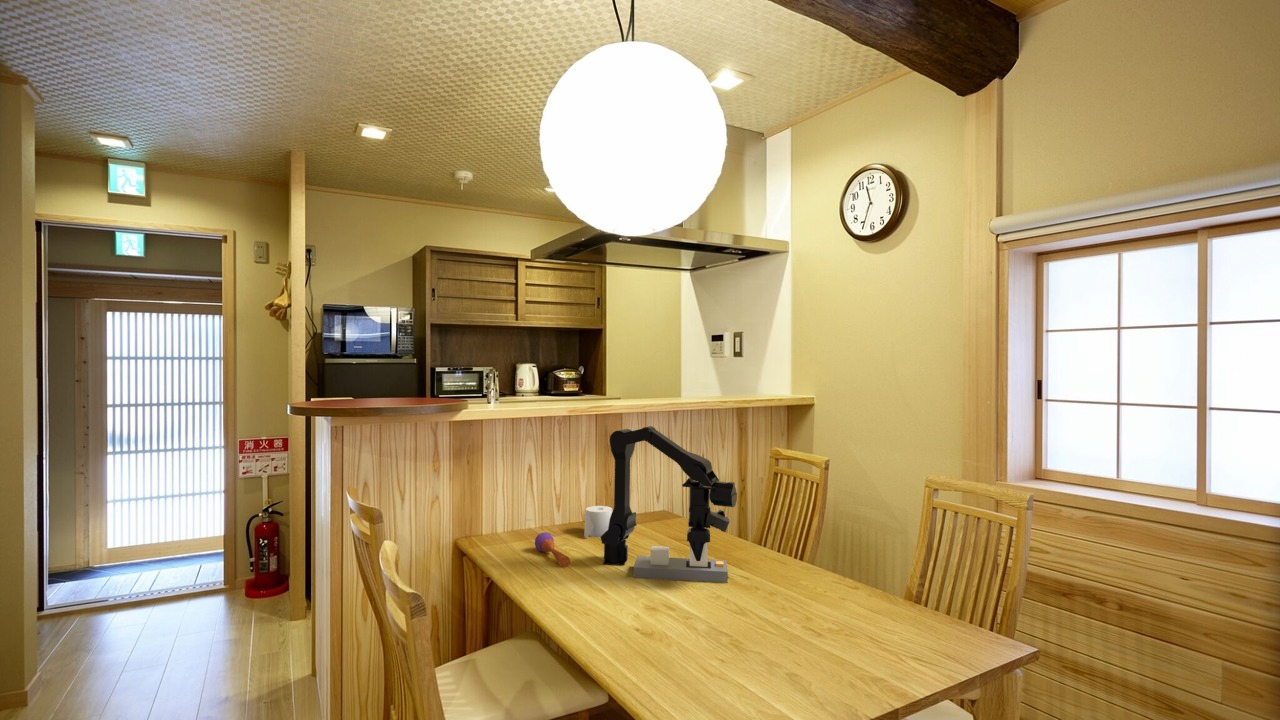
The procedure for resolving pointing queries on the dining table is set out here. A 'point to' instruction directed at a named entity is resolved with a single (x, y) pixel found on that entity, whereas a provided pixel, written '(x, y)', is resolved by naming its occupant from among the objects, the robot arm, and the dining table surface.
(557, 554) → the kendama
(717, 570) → the power strip
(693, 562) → the plug
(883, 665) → the dining table surface
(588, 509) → the toilet tissue
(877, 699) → the dining table surface
